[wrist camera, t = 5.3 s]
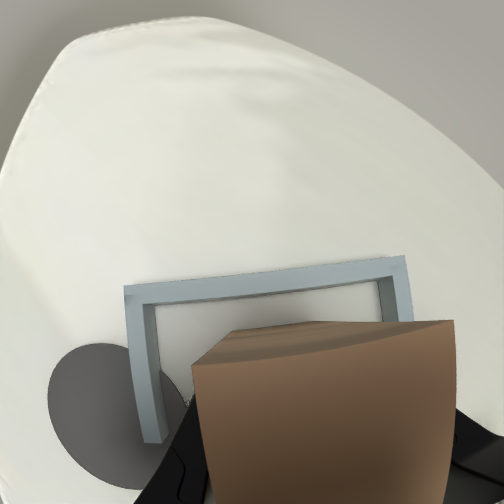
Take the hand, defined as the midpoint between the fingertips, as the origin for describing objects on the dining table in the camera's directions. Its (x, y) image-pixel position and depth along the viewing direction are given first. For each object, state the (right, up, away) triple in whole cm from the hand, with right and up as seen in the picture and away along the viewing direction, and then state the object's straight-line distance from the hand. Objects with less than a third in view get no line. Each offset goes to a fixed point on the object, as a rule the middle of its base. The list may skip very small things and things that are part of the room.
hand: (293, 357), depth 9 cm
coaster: (-10, -7, +5) cm, 13 cm away
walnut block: (0, -3, +6) cm, 7 cm away
